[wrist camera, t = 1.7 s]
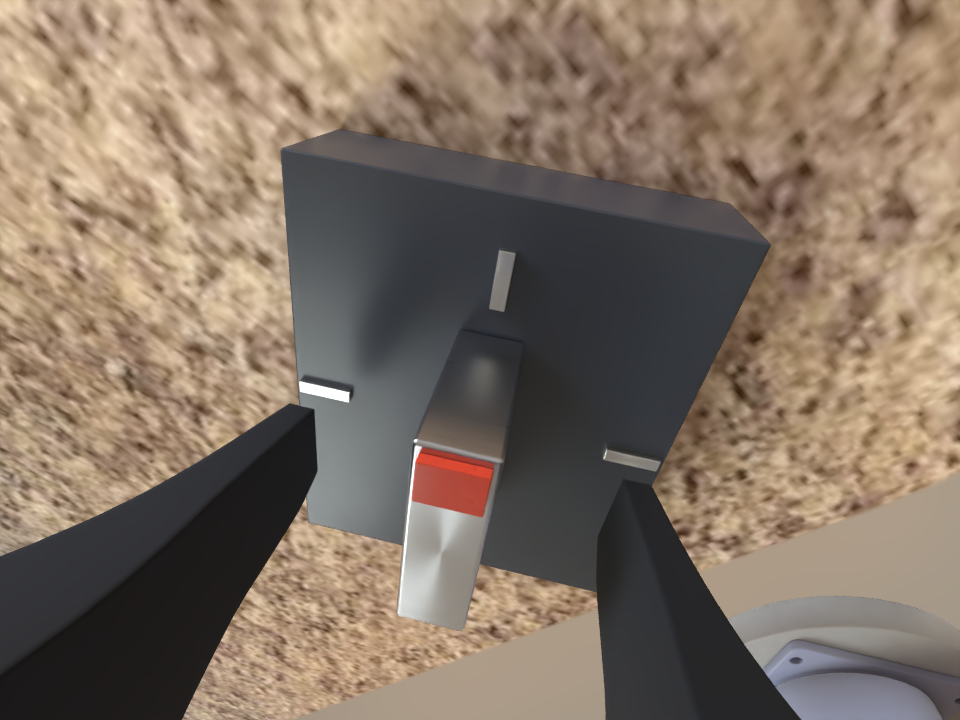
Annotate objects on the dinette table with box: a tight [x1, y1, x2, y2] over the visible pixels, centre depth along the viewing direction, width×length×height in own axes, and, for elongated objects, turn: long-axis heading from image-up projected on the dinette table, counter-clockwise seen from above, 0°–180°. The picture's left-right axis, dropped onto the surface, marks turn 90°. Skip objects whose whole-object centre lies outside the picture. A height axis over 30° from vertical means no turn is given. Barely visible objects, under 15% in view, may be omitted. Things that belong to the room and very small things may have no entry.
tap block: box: [281, 129, 771, 592], centre depth 14 cm, size 12×10×3 cm
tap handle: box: [396, 330, 524, 631], centre depth 11 cm, size 6×2×4 cm, turn 171°
